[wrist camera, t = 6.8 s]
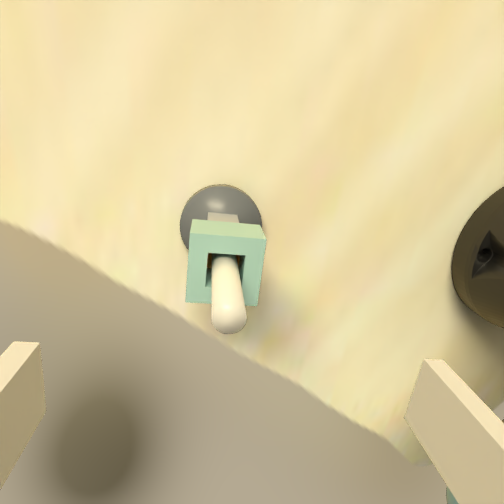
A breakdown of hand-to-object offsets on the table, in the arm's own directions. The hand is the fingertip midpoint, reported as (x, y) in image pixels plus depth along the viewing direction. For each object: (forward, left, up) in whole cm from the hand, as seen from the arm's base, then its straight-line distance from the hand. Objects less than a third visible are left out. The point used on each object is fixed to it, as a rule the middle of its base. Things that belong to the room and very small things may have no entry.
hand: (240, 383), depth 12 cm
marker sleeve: (0, 0, -12) cm, 12 cm away
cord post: (0, 0, -20) cm, 20 cm away
